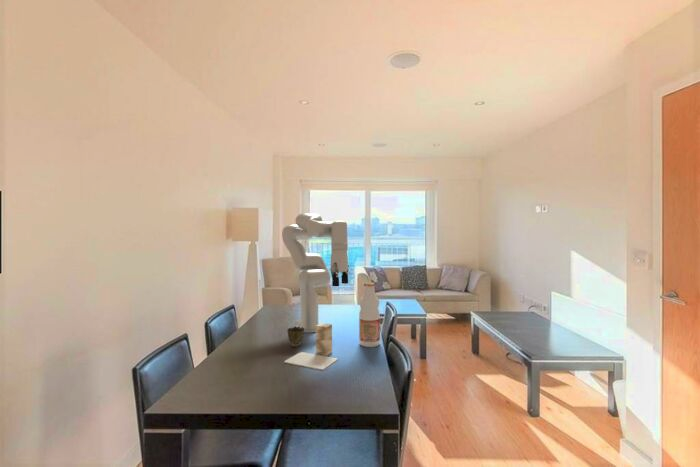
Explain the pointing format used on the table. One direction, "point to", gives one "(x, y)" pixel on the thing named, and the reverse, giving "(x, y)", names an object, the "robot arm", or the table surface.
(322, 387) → the table surface
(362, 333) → the fruit juice
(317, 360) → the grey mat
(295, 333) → the cup
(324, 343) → the maple block
